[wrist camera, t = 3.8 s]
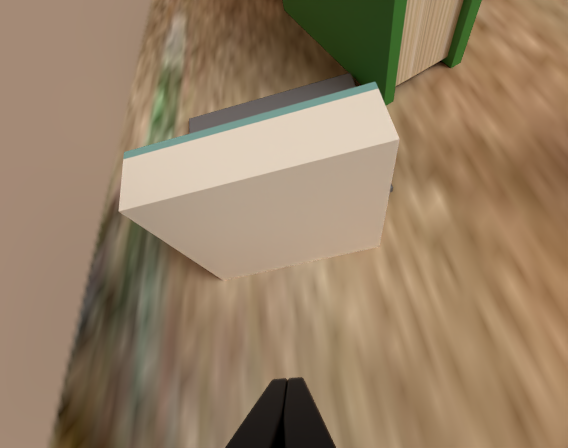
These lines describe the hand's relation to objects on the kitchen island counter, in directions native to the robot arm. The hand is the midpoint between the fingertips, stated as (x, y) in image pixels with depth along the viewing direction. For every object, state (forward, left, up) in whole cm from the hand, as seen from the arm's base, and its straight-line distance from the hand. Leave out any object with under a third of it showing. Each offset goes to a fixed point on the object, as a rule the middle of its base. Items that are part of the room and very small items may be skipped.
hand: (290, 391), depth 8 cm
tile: (+8, +2, -11) cm, 14 cm away
